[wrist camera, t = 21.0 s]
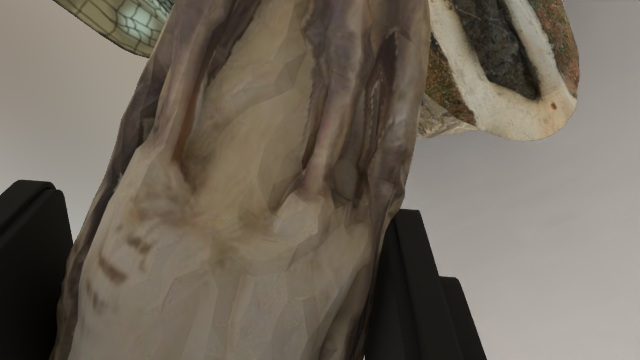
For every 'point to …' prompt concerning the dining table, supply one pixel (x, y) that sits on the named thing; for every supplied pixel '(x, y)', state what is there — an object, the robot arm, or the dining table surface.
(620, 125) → the dining table surface
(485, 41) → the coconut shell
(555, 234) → the dining table surface
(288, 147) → the bird model
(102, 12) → the insect sculpture
